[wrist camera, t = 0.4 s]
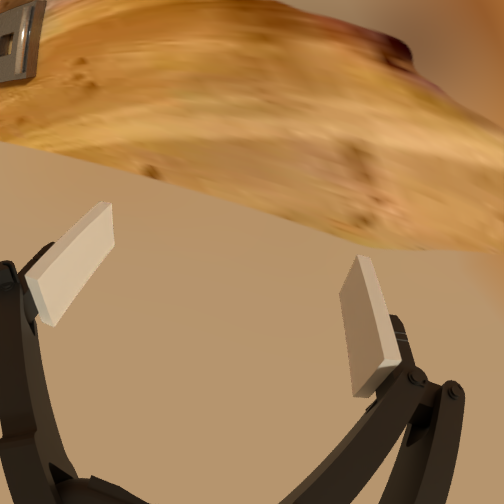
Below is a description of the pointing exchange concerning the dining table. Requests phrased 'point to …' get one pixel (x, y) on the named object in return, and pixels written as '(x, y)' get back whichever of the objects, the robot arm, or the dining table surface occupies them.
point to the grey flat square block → (20, 40)
